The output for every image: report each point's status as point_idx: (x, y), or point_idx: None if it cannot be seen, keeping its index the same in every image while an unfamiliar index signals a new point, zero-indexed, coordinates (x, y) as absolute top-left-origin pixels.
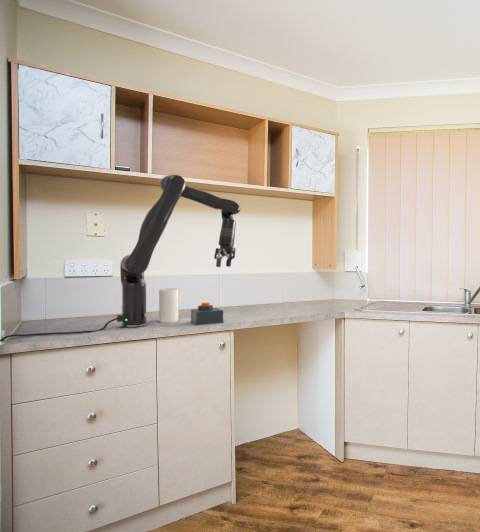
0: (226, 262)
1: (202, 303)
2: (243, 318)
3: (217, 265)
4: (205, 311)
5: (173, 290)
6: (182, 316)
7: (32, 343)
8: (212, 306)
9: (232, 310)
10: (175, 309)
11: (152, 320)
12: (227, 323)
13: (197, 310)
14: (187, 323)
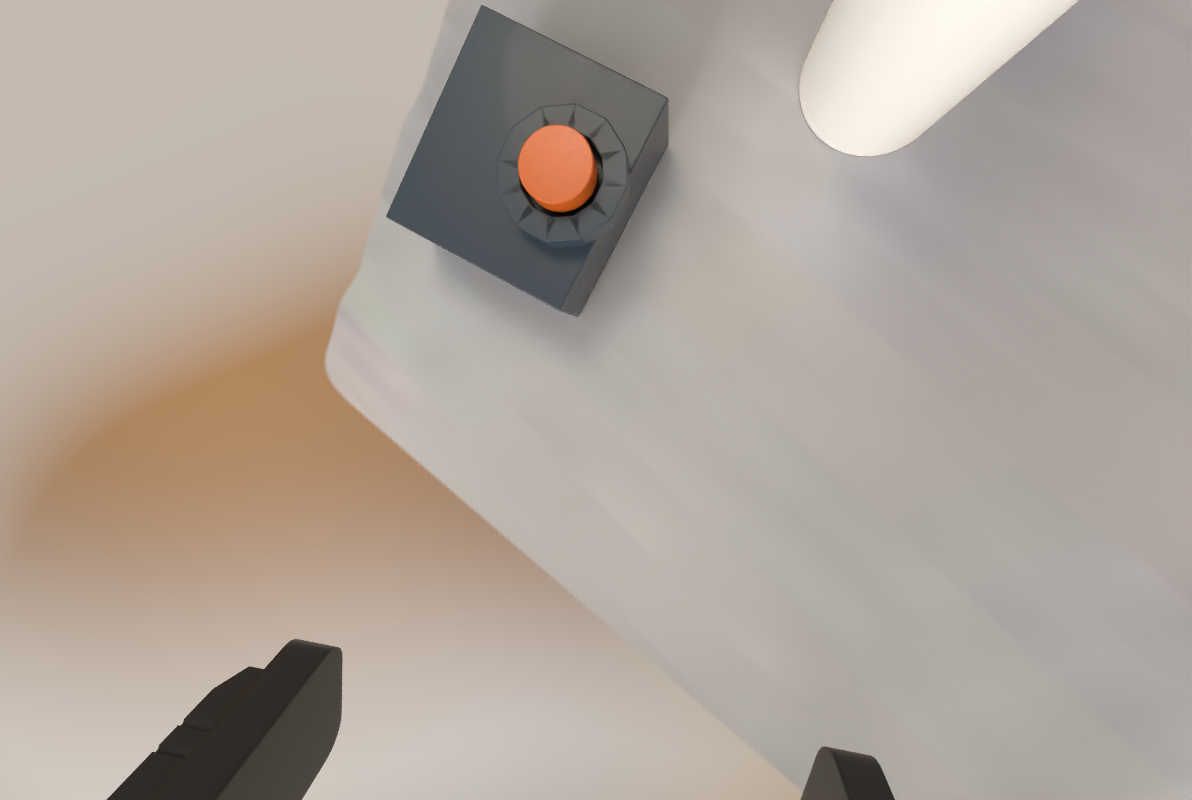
0: (256, 737)
1: (556, 125)
2: (446, 454)
3: (831, 787)
4: (459, 84)
5: None
6: (972, 308)
7: None
8: (509, 213)
9: None
10: (828, 39)
11: None
12: (388, 234)
13: (567, 88)
14: None
